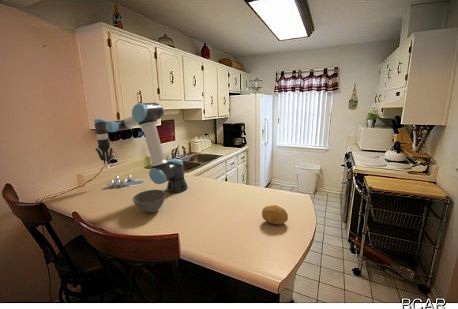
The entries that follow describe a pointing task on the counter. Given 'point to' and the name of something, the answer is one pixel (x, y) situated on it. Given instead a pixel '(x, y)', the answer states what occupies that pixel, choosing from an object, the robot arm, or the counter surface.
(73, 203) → the counter surface
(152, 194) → the bowl
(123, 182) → the spacers
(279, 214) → the potato
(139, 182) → the mat
